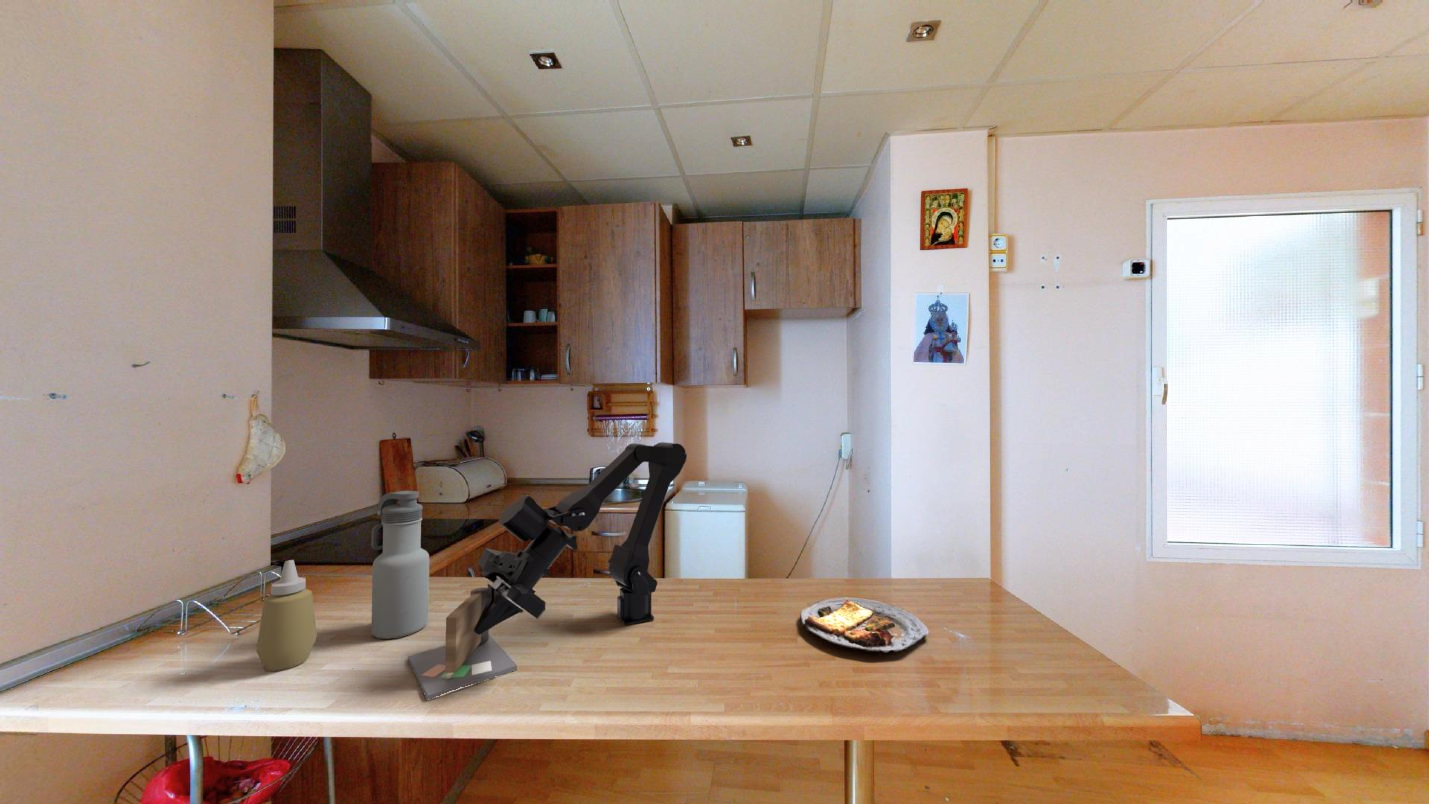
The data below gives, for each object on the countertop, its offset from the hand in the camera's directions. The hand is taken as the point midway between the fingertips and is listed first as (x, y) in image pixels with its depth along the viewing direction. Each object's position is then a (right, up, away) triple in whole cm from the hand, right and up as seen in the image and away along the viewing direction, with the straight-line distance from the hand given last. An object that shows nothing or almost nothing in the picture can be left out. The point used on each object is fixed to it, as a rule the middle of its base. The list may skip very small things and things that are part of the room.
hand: (476, 632), depth 83 cm
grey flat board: (-3, -6, +1) cm, 7 cm away
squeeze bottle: (-34, -6, +2) cm, 35 cm away
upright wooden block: (-3, -5, +2) cm, 6 cm away
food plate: (+72, -7, +16) cm, 74 cm away
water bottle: (-23, -7, +15) cm, 28 cm away
